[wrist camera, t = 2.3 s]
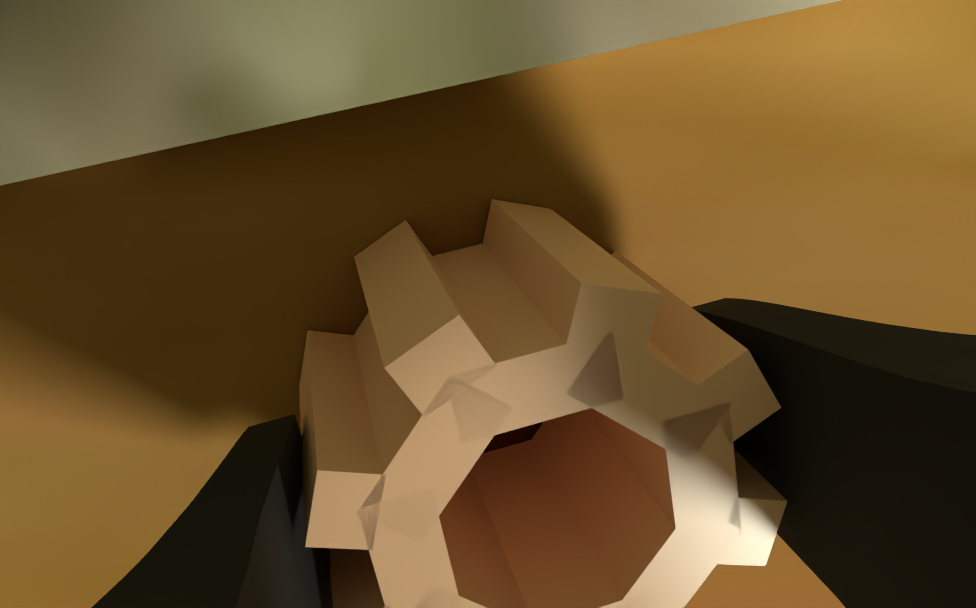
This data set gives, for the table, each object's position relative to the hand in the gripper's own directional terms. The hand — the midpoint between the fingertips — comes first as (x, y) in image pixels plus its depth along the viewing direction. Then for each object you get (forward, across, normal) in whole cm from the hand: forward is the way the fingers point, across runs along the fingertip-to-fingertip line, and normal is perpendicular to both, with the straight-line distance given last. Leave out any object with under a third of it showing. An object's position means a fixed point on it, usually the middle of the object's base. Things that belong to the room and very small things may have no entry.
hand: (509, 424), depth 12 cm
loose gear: (+2, 0, 0) cm, 2 cm away
